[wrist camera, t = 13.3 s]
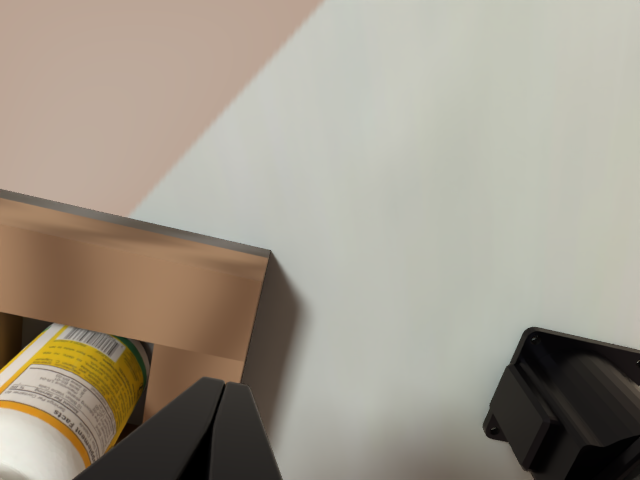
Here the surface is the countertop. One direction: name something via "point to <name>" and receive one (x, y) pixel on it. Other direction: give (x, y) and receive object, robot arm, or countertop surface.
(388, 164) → the countertop surface
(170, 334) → the socket block
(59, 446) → the supplement bottle
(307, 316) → the countertop surface
